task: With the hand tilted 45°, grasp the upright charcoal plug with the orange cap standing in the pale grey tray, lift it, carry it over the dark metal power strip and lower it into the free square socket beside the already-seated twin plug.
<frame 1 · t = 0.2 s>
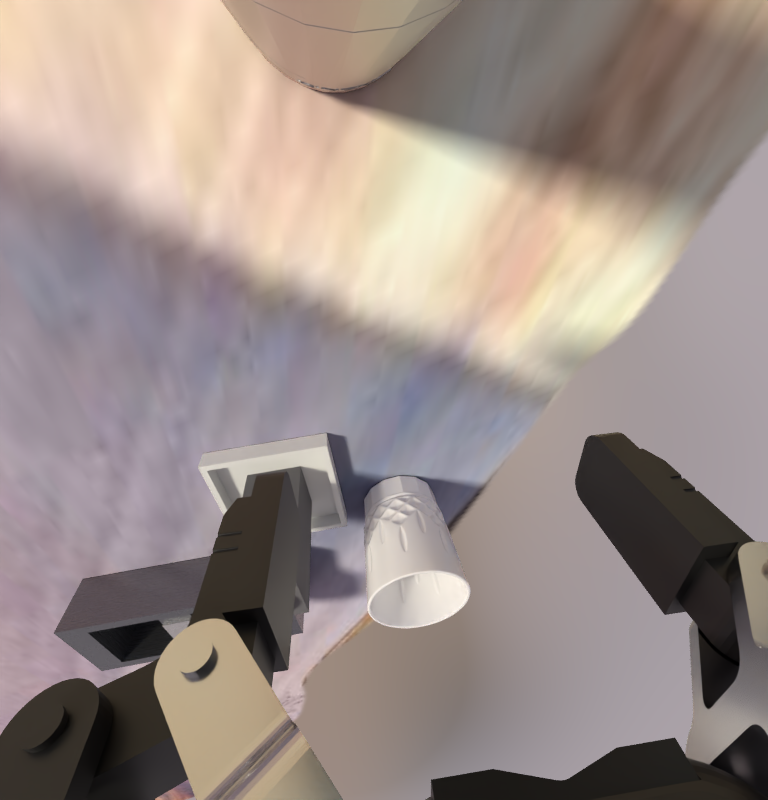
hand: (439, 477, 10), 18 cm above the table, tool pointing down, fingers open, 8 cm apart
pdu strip: (201, 582, 41), on the table
plug: (280, 488, 34), resting on tray
white cup: (398, 498, 38), on the table
tray: (281, 485, 34), on the table
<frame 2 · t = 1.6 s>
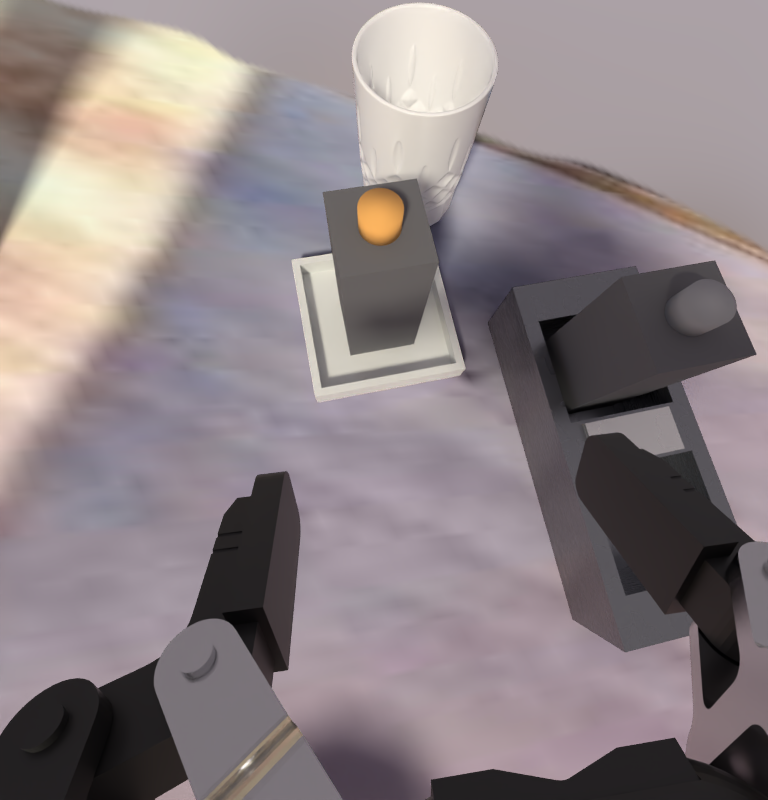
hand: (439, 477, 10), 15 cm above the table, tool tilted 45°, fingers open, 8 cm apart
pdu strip: (582, 446, 26), on the table
plug: (375, 320, 27), resting on tray
twin plug: (569, 380, 26), resting on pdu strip
white cup: (407, 197, 31), on the table
tray: (375, 322, 28), on the table
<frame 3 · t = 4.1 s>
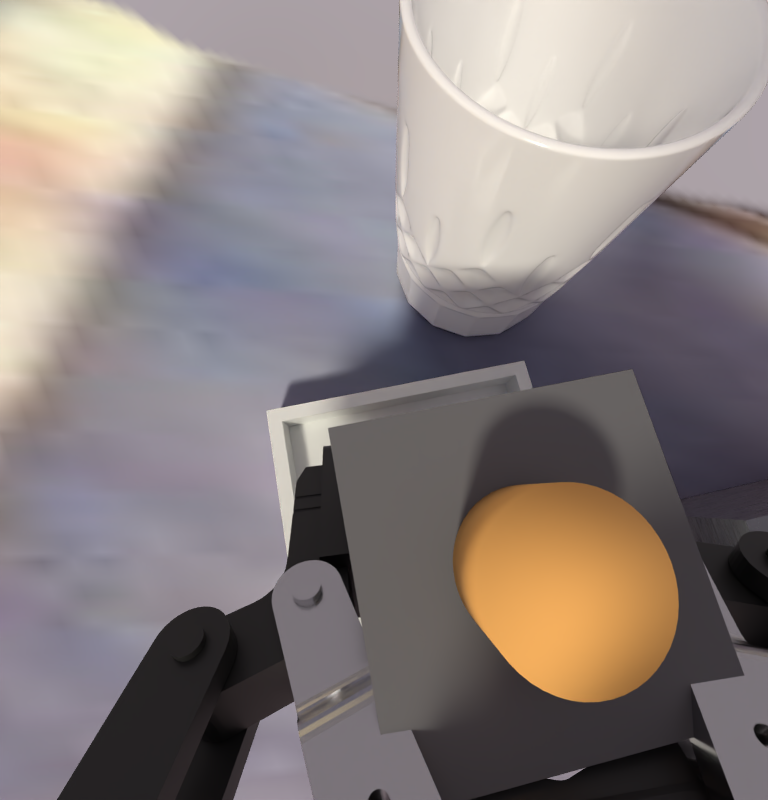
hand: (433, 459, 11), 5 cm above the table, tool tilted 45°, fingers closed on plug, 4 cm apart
plug: (424, 517, 15), resting on tray, touching gripper
white cup: (468, 272, 18), on the table
tray: (423, 517, 15), on the table
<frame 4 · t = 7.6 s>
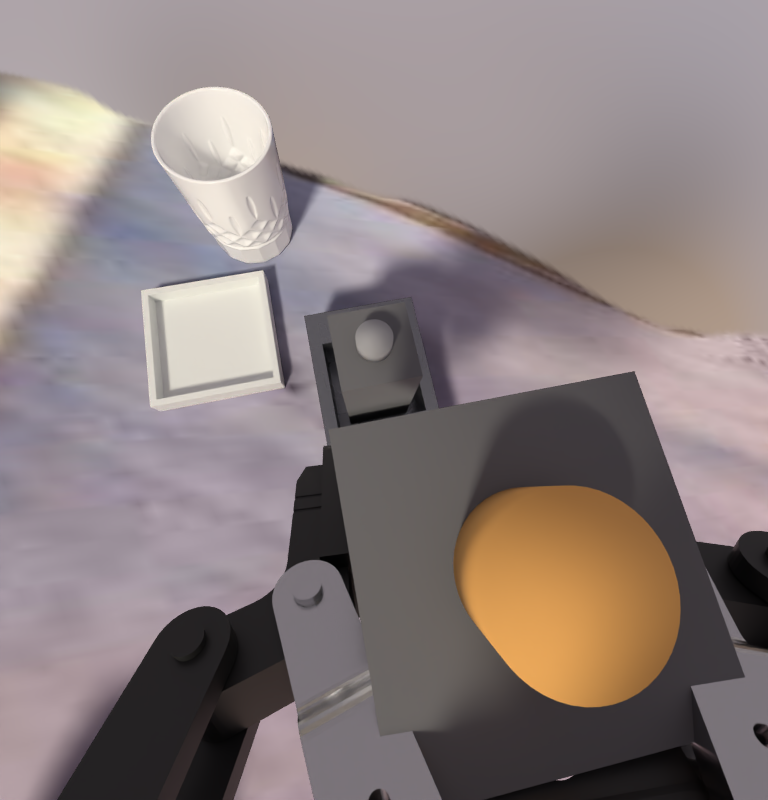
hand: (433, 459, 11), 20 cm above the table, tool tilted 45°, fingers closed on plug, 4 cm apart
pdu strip: (384, 447, 31), on the table
plug: (425, 518, 15), point 16 cm above the table, touching gripper
twin plug: (373, 391, 31), resting on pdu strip
white cup: (256, 233, 36), on the table
tray: (217, 342, 33), on the table
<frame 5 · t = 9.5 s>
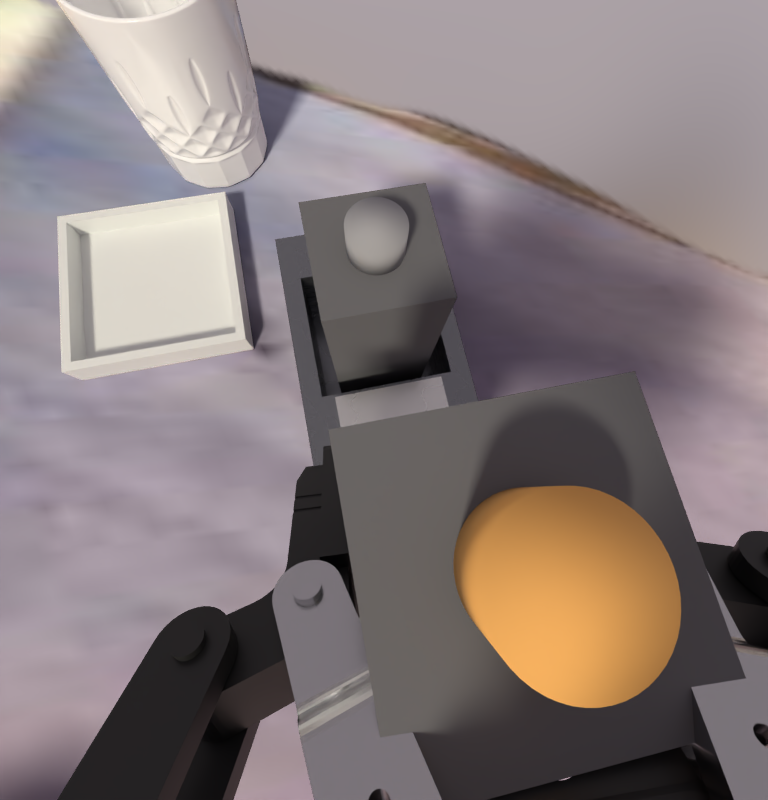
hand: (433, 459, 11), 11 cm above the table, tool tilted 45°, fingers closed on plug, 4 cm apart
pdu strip: (388, 429, 23), on the table
plug: (425, 518, 15), point 7 cm above the table, touching gripper
twin plug: (373, 352, 23), resting on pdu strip
white cup: (219, 151, 27), on the table
tray: (162, 289, 24), on the table
when the fingers open (6 cm above the table, at t = 11.1 s): plug drops 1 cm, resting on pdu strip.
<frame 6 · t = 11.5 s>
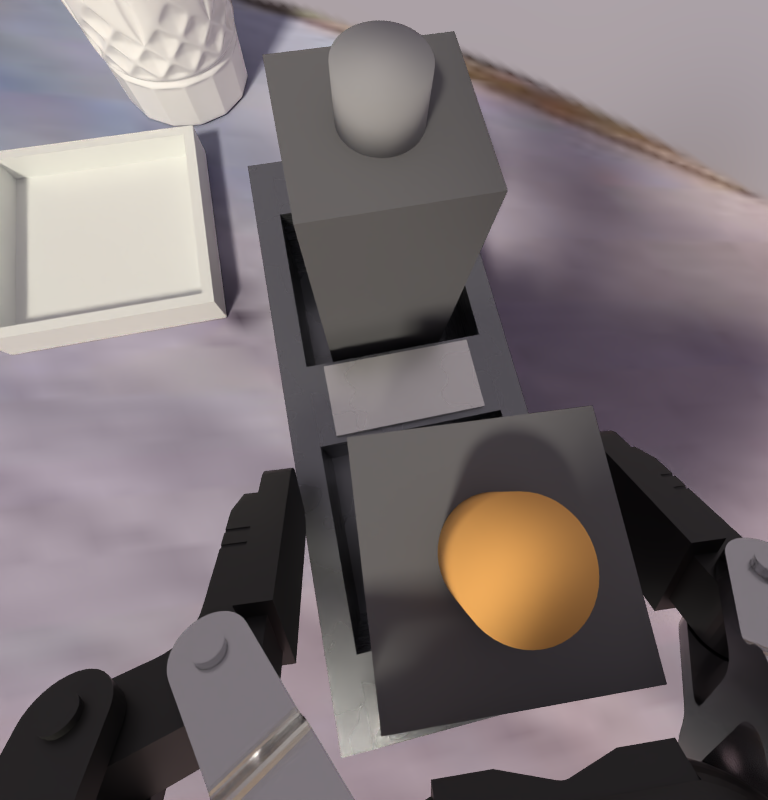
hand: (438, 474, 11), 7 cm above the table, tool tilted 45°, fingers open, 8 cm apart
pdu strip: (394, 416, 18), on the table
plug: (420, 517, 16), point 1 cm above the table, touching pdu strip
twin plug: (375, 319, 18), resting on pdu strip
white cup: (190, 85, 23), on the table
tray: (116, 245, 20), on the table
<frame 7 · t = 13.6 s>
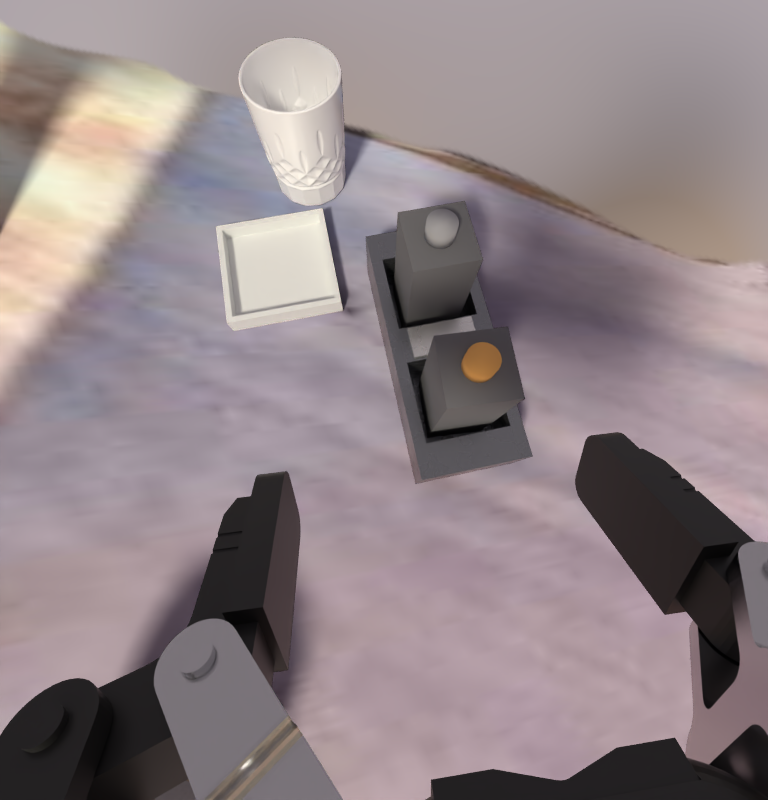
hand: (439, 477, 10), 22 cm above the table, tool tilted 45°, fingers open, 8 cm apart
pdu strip: (434, 361, 34), on the table
plug: (449, 407, 32), point 1 cm above the table, touching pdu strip
twin plug: (423, 310, 34), resting on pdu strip
white cup: (312, 181, 40), on the table
tray: (281, 273, 36), on the table
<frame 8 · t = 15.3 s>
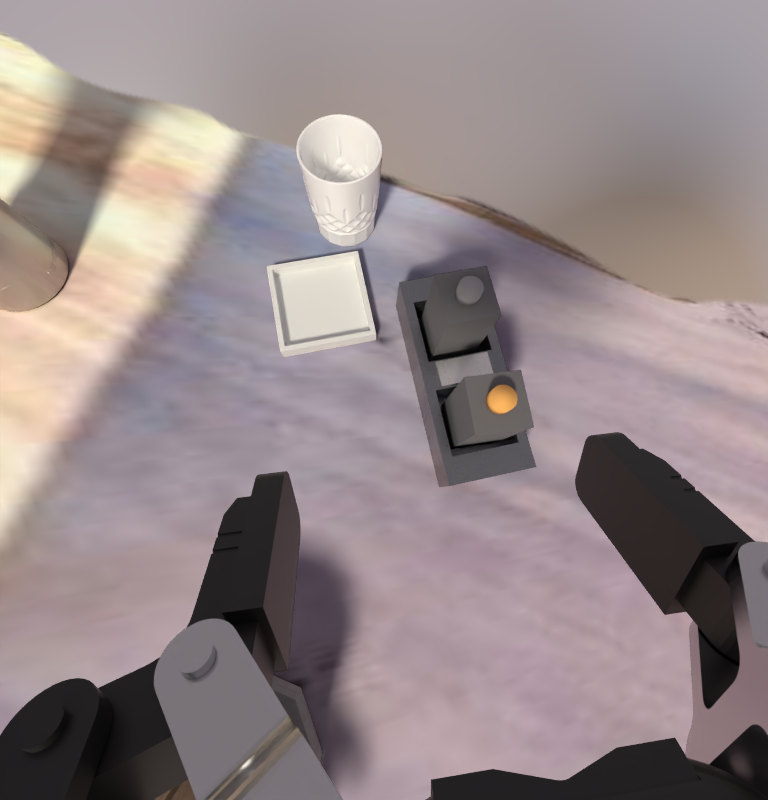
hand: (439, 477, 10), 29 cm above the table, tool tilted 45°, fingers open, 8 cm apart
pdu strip: (453, 384, 41), on the table
plug: (466, 424, 39), point 1 cm above the table, touching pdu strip
tankard: (256, 799, 32), on the table
twin plug: (444, 341, 41), resting on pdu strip
white cup: (346, 223, 46), on the table
tray: (322, 306, 43), on the table
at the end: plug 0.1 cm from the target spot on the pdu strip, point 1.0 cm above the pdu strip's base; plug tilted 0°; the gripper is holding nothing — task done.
